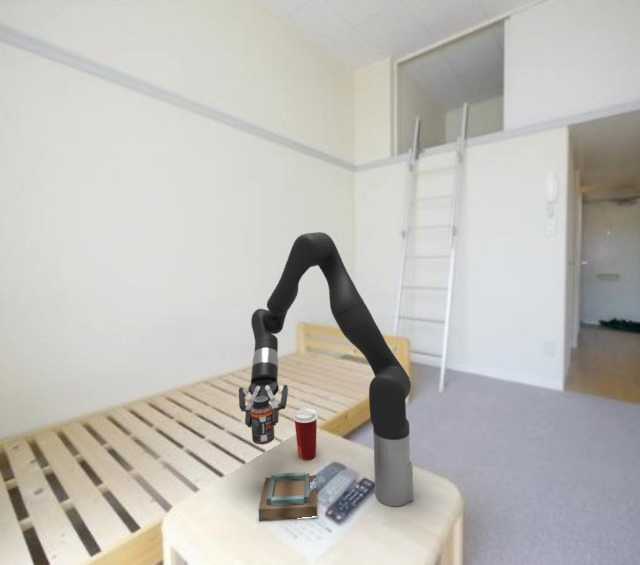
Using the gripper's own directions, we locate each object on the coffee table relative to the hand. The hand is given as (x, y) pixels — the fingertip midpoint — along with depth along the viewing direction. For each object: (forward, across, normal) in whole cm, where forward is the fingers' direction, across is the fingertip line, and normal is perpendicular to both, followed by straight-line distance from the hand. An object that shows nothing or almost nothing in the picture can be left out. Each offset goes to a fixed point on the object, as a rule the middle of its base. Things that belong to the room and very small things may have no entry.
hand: (261, 425), depth 90 cm
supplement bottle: (+2, 0, +5) cm, 5 cm away
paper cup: (+1, +10, +27) cm, 29 cm away
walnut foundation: (+16, +6, +12) cm, 21 cm away
